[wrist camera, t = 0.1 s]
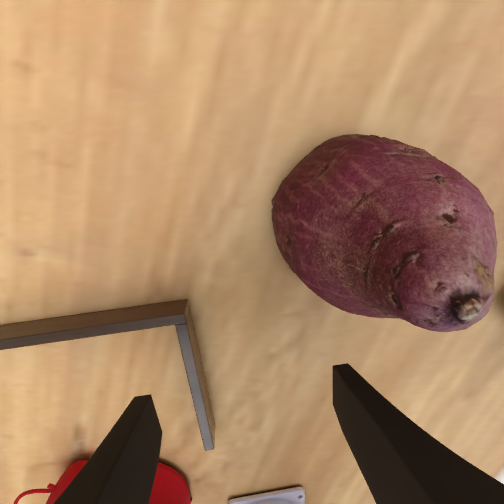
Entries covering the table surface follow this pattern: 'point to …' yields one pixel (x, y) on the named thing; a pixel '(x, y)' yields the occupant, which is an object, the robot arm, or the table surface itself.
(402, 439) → the robot arm
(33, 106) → the table surface
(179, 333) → the walnut frame
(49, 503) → the alarm clock
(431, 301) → the vegetable
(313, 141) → the table surface
